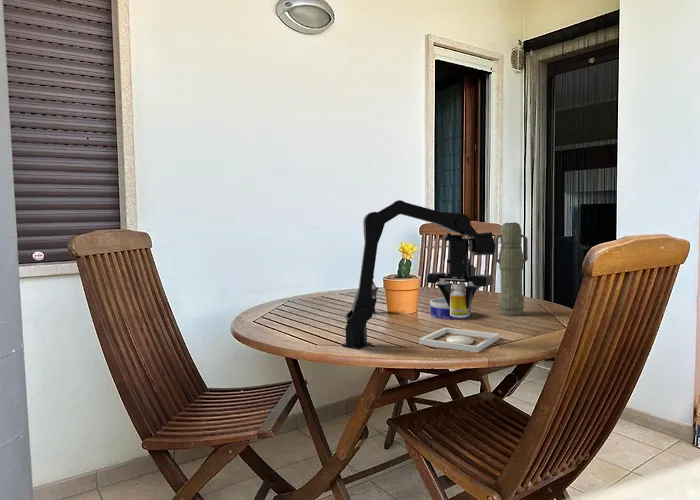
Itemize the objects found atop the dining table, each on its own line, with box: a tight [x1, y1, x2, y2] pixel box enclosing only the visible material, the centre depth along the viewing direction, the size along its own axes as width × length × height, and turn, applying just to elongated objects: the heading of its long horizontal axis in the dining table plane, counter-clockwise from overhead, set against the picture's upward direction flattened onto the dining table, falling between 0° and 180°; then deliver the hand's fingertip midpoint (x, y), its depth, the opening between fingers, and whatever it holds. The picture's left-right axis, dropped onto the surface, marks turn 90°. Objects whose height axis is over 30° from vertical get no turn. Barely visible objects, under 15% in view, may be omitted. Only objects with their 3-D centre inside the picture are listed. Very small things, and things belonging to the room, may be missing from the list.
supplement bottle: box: [450, 282, 468, 317], centre depth 142 cm, size 5×5×10 cm
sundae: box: [372, 276, 380, 315], centre depth 191 cm, size 7×7×15 cm
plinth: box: [445, 335, 475, 345], centre depth 142 cm, size 8×8×1 cm
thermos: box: [494, 222, 529, 317], centre depth 181 cm, size 9×12×35 cm
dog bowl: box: [429, 297, 472, 321], centre depth 182 cm, size 15×15×6 cm
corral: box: [418, 327, 501, 353], centre depth 142 cm, size 18×18×2 cm
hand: (458, 307), depth 142 cm, fingers closed on supplement bottle, 5 cm apart
